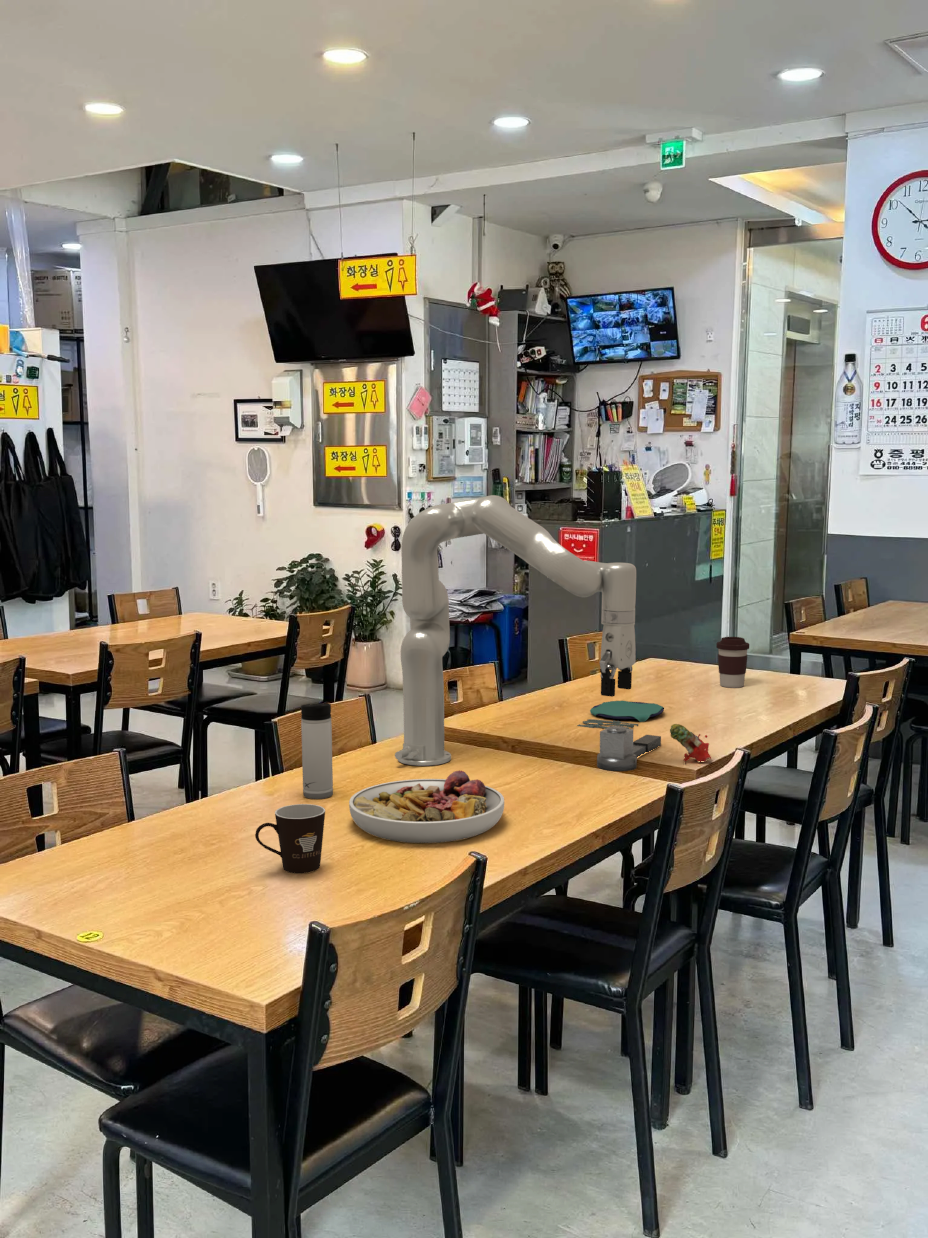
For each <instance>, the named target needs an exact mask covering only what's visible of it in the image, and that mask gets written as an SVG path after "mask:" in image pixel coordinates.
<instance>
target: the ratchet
mask: <svg viewBox="0 0 928 1238" xmlns="http://www.w3.org/2000/svg"><path fill="white" fill-rule="evenodd" d="M658 746H660V747H661V746H662V736H660V735H652V734H645V735H643V736H641V737H639V738H638V739H636V740H633V755H631V756H630V757H628V758H626V759H624V760H619V759H611V758H603V757H600V752H599V753H597V756H596V768H598V769H600V770H603V771H608V772H620V773H621V772H628V771H634V770H635V769H637V767H638V766H637V765H638V763H637V761H638V759H637V757H638V756H640V755H641V754H644V753H645V752H649V751H651V750H653V749H655V748H656V749H657V747H658ZM658 748H659V747H658ZM656 749H655V750H656ZM653 751H654V750H653ZM651 752H652V751H651Z"/></svg>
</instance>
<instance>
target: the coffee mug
mask: <svg viewBox="0 0 928 1238" xmlns="http://www.w3.org/2000/svg"><path fill="white" fill-rule="evenodd" d="M274 816H275V823H276V824H275V823H271V822H265V823H263V824H260V825H259V826H258V827H257V828H256V830H255V834H254V835H255V840H256V842H257V843H258V844H259V845H260V846H261V847H263V848H264V849H265V850H267V851H270V852H271V853H274V854H276V855H277V856H279V857H280V858H281V863H282V870H284V871H285V872H287V873H290V874H299V875H300V874H309V873H312V872H315V871H318V870H319V869H320V868H321V859H322V851H323V850H322V849H323V841H324V840H323V839H324V830H325V829H324V827H325V817H326V809H325V808H324V806H321V805H318V804H310V803H300V804H299V803H297V804H290V805H289V804H288V805H284V806H282V807H281V806H280V807H279V808H277V809H275V811H274ZM266 827H271V828H272V829H274V831H275V833H276V834H277V836H278V842H279V844H278V845H279V850H280V851H279V850H277V849H275V848H272V847H271V846H268V845H266V844H264V842H263V841H262V840H261V839H260V838H259V834H260V832H261V831H262V829H264V828H266Z"/></svg>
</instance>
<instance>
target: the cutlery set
mask: <svg viewBox="0 0 928 1238" xmlns="http://www.w3.org/2000/svg"><path fill="white" fill-rule="evenodd" d="M664 711H665V707H664V706H662V705H661V704H658V703H650V702H642V701H628V700H610V701H606V702H604V701H603V702H602V703H599V704H597V705H594V706H593V707H591V708H590V710H589V712H590V714H591V715H593V716H595V717H599V716H600V717H603V718H605V719H606V718H608V719H614V720H612V721H611V720H605V719H603V720H602V719H592V718H590V719H589V718H587V719H586V720H583V721H582V723H583V724H577V725H576V727H581V728H582V727H583V728H589V729H599V728H600V729H603V730H604V729H606V728H607V727H608V726H623V727H626V729H634V728H635V726H636V727H639V723H644V722H646V721H647V720H648V719H649V718H652V717H657V716H658V715H661V714H662V713H664ZM615 719H617V721H616V720H615ZM619 720H637V721H638V722H639V723H632V722H631V723H630V722H623V721H619Z"/></svg>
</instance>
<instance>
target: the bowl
mask: <svg viewBox="0 0 928 1238" xmlns="http://www.w3.org/2000/svg"><path fill="white" fill-rule="evenodd" d="M348 803H349V805H348V806H349V813H350V817H351V818H352V820H353V822H354V824H355V825H356V826H358V827H359V828H360V829H361V830H362V831H363V832H366V833H367V834H369V835H371V836H374V837H377V838H381V839H383V840H388V841H393V842H400V843H411V844H438V843H439V844H440V843H448V842H449V843H450V842H455V841H461V840H465V839H466V840H467V839H470V838H473V837H476V836H479V835H481V834H483V833H485V832H488V830H490V829H492V828H493V827H494V826H495V825H497V824H498V822H499V821H500V820H501V818H502V816H503V813H504V810H505V798H504V795H503V794H502V793H501V792H500V791H498V790H496V789H495V788H493V787H490V786H488V785H485V784H484V783H483V781H482V780H480V779H472V780H470V776H469V775H468V774H467V773H466V772H465V771H464V770H456V771H453V772H452V773H450V774H449V775H448V776H447V777H446V778H415V779H413V778H411V779H403V780H402V779H401V780H395V781H389V782H384V783H379V784H374V785H372V786H368V787H366V788H363V789H361V790H359V791H357V792H355V793H354V794H353V795H351V797H350V799H349V802H348Z"/></svg>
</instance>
